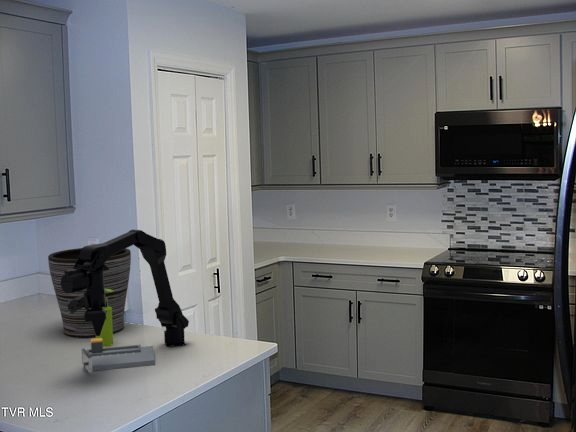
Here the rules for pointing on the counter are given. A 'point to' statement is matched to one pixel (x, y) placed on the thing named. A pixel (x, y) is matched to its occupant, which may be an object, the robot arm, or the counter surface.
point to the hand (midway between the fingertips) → (98, 335)
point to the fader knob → (97, 345)
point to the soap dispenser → (107, 325)
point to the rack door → (87, 360)
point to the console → (121, 357)
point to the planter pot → (113, 280)
